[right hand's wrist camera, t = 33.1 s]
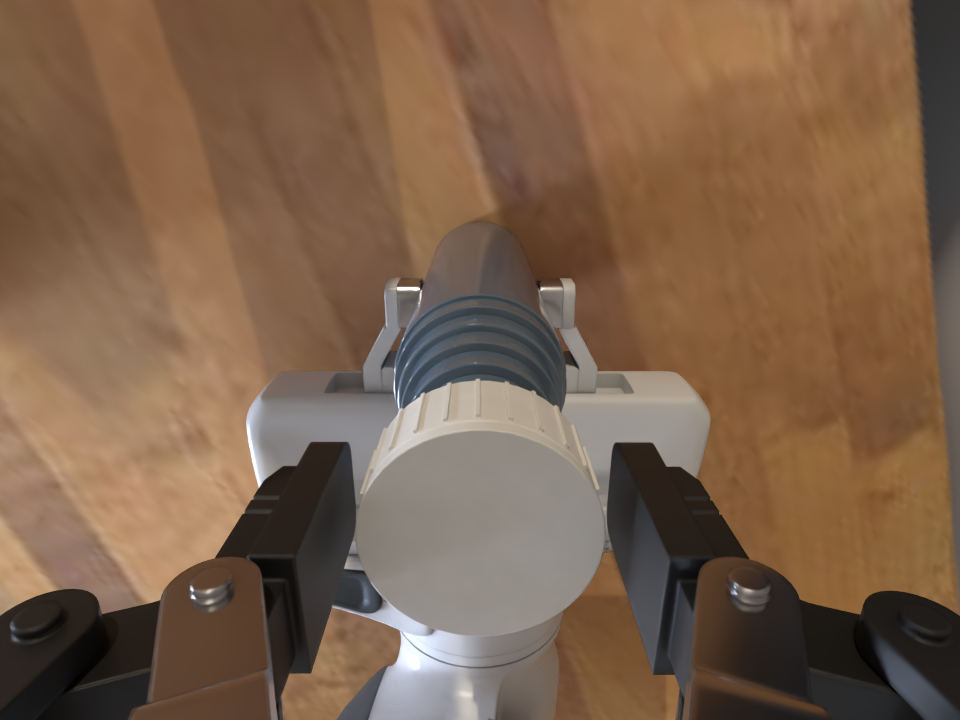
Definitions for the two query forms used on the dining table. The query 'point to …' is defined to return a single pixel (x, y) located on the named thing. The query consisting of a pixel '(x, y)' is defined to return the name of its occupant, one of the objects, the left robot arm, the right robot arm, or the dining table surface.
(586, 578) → the cap
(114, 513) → the dining table surface
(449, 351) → the bottle
